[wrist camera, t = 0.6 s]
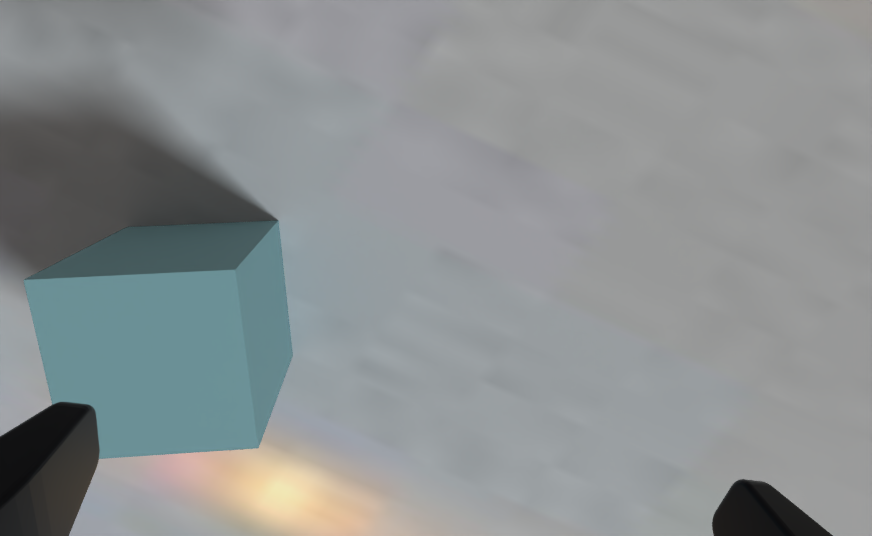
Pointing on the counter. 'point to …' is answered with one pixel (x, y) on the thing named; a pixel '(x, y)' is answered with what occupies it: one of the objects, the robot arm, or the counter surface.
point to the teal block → (168, 335)
